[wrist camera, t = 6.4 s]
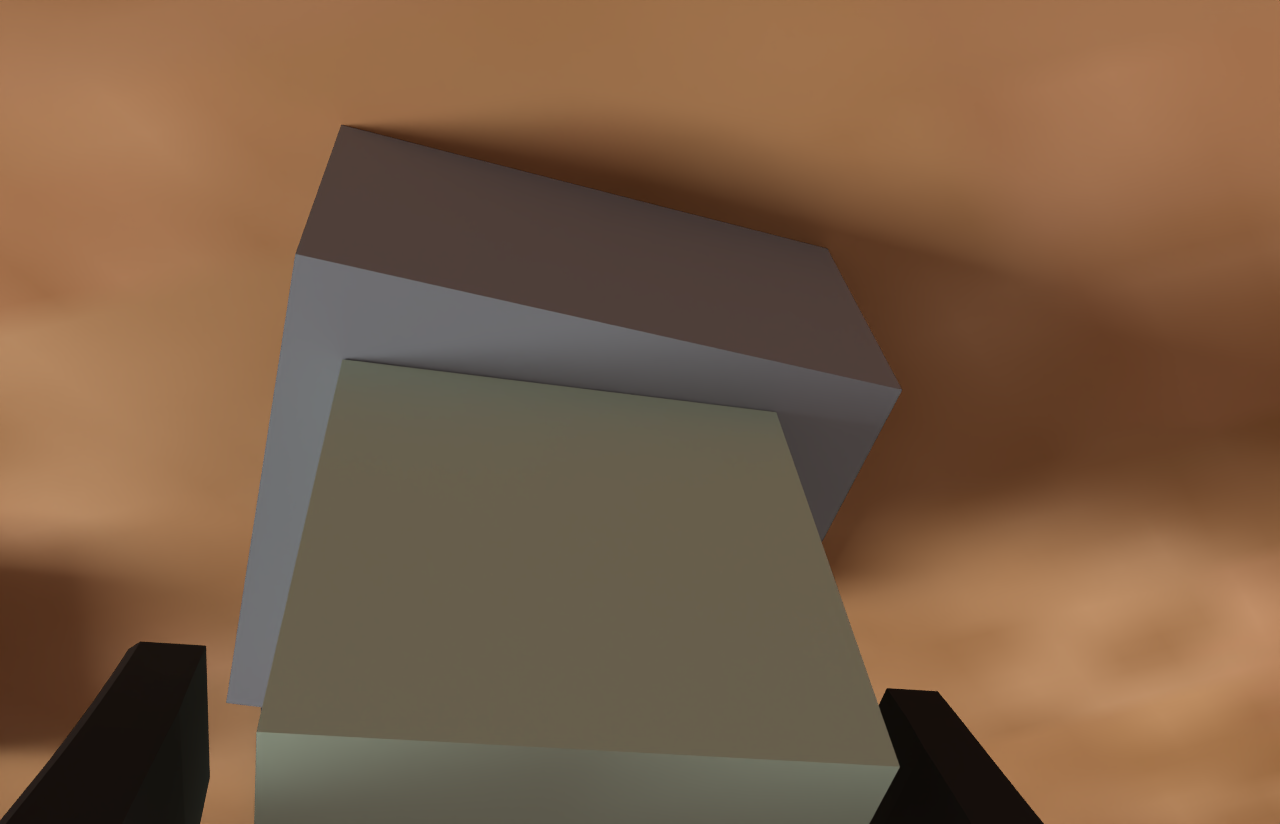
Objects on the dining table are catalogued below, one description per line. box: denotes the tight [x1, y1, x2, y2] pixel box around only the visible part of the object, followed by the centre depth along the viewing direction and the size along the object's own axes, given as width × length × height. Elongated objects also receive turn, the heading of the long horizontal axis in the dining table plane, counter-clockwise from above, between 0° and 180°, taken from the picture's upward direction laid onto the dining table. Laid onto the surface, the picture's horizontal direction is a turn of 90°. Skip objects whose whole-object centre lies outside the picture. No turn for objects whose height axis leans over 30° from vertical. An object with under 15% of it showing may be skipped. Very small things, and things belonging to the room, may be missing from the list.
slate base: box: [226, 125, 902, 707], centre depth 15 cm, size 7×7×4 cm
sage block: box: [254, 359, 900, 824], centre depth 12 cm, size 5×5×5 cm
